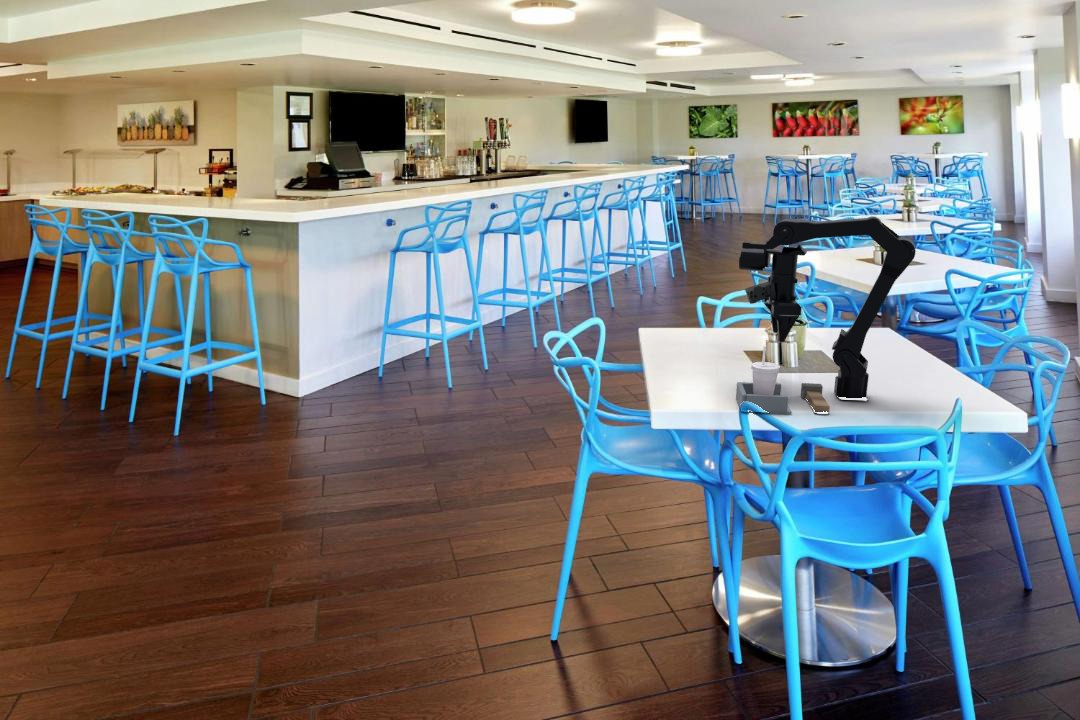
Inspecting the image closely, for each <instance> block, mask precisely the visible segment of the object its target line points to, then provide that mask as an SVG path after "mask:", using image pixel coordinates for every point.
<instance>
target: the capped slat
mask: <svg viewBox="0 0 1080 720" xmlns="http://www.w3.org/2000/svg"><path fill="white" fill-rule="evenodd" d="M800 395H801V396H802V398H806V399H807V400H808V402H809V403H810V405H811V406H812V407H813V409H814V410H815V412H823V411H824V412H826V411H827V412H829V413H830V404H829V403H828V401H827V400H826V398H825V397H824V396H823V385H822V384H821V383H813V382H812V383H809V382H807V383H806V382H801V386H800ZM801 396H800V397H801ZM802 398H801V399H802ZM806 399H805V400H806ZM808 402H807V403H808Z"/></svg>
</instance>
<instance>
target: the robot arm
mask: <svg viewBox="0 0 1080 720" xmlns="http://www.w3.org/2000/svg"><path fill="white" fill-rule="evenodd" d="M772 231H773V232H772V236H771V237H769V239H768V240H766V243H763V242H762V243H761V242H752V241H743V242H742V246H741V249H740V256H739V257H738V258H739V259H738V269H739V270H740V271H748V272H749V271H752V272H763V273H764V272H765V269H766V268H770V265H771V273H770V275H769V276H768V277H767V281H765V282H763V283H759V284H755V285H752V286H749V287H746V288H745V289H744V291H745V293H746V297H747V298H746V299H747V301H748V303H749V304H752V305H753V304H757V302H761V301H763V304H764V306H765V307H766V308H767V309H768V310H769V312H770V320H771V326H772V333H774V334H778V341H779V342H780V343H781V342H782V343H784V342H785V341H786V339H787V338H788V335H789V334H790V332H791V330H792V329H793V326H794V325H795V323H796V321H797V320H798V319H799V318H800V316H801V315H802V310H803V309H802V306H801V305H800V303H798V302H797V296H796V295H795V293H796V284H798V278H797V268H798V259H799V256H805V255H806V254H808V252H807V250H806V249H805V248H804V247H803V246H802V244H801V243H803V242H806V241H810V240H814V239H823V238H824V239H827V238H839V237H840V238H841V237H843V238H844V237H855V236H857V237H859V236H868V237H870V238H871V239H872V240H873V241H874V242H875V243H876V244H878V245H879V246H880V248H882V249H883V251H885V252H886V254H885V256H884V260H883V263H882V266H881V269H880V272H879V275H878V276H877V278H876V279H875V282H874V284H873V285H872V288H871V290H870V291H869V293H868V295H867V297H866V299H865V300H864V303H863V305H862V306H861V308H860V310H859V311H858V314H857V316H856V318H855V319H854V322H853V323H852V324H851V327H849V328H848V329H847V331H846V330H845V329H843V328H841V330H840V331H839V335H838V338H837V339H836V340H835V341H834V342H833V345H832V347H831V350H833V352H832V360H833V362H834V364H835V366H838V367H839V370H837V371H838V372H837V375H836V376H835V378H834V387H833V388H834V390H833V394H834V395H835V396H836V397H837V396H838V397H846V398H862V397H867V393H868V385H869V378H870V377H869V373H868V371H867V370H868V366H869V365H868V364H869V360H868V359H867V358H866V357H865V356H864V355H863V354H862V350H863V346H864V342H865V339H866V336H867V334H868V332H869V330H870V328H871V326H872V325H873V323H874V321H875V319H876V318H877V315H878V314H879V312H880V310H881V307H883V305H884V303H885V301H886V299H887V298H888V295H889V293H890V291H891V290H892V288H893V286H894V285H895V282H896V281H897V279H899V277H900V276H901V275H902V274H903V273H904V271H905V270H906V269H907V268H908V267H909V266H910V264H911V263H912V262H913V260H914V259H915V256H916V252H917V251H916V246H915V242H914V241H913V240H912V239H910V238H909V237H906V236H900V235H899V234H897V233H896V232H895V231H894V230H893V229H892V228H890V227H889V226H887V225H886V224H885V223H883V222H882V220H881V219H880V218H879V217H877V216H868V217H861V218H849V219H848V218H847V219H832V220H821V221H820V220H819V221H815V220H806V219H799V218H798V219H796V218H784V219H783V220H781V221H779V222H778V223H777V224H776V225H775V226H774V228H773V230H772ZM794 244H798V245H796V246H791V245H794ZM780 246H783V247H782V249H780V250H779V249H778V250H777V248H778V247H780ZM771 255H772V260H771ZM771 261H772V262H771ZM838 397H837V398H838Z"/></svg>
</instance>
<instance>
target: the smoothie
mask: <svg viewBox="0 0 1080 720" xmlns="http://www.w3.org/2000/svg"><path fill="white" fill-rule="evenodd" d="M766 351H767V346H766V345H764V346H763V349H762V360H761V361H756V362H753V363H751V367H750V369H751V371H752V383H753V394H755V395H773V393H774V389H775V384H777V379H778V375H779V372H780V371H781V369H780V368H781V365H779V364H777V363H773V362H770V361H768V362H767V361H766Z"/></svg>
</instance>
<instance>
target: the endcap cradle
mask: <svg viewBox="0 0 1080 720" xmlns="http://www.w3.org/2000/svg"><path fill="white" fill-rule="evenodd" d="M781 392H782V383H776V384H775V389H774V393H773V395H755V394H753V382H747V381H746V382H743V381H742V382H741V381H737V382H736V393H735V400H736V402H737V405H738V407H739V406H740V404H741V403H742V402H743V401H749V402H752V403H754V404H756V405H758V406H759V407H761V408H762V409H763V410H765V411H767V412H769V413H770V414H771V415H772V414H774V415H792V413H793V411H792V410H791V408H790V406H789V395H782V394H781ZM769 413H768V414H769ZM748 414H754V413H753V412H751V411H749V412H748Z"/></svg>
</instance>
